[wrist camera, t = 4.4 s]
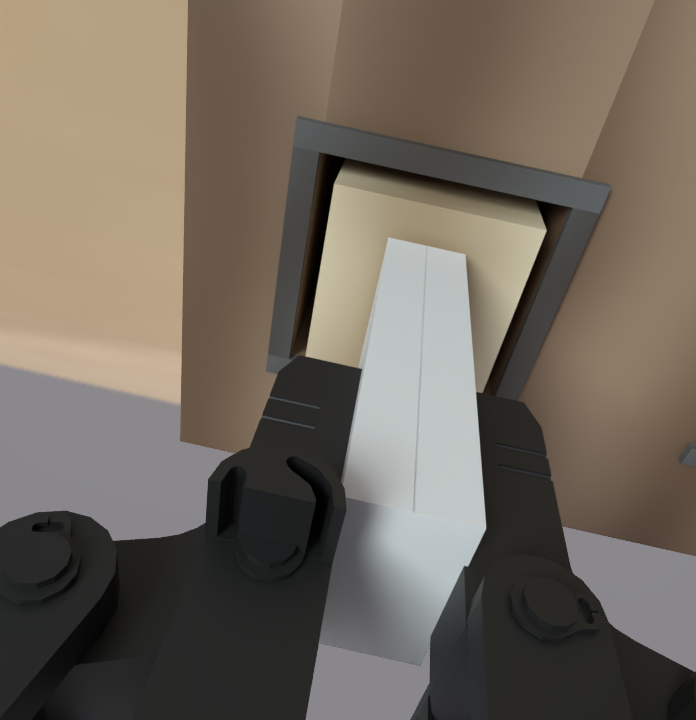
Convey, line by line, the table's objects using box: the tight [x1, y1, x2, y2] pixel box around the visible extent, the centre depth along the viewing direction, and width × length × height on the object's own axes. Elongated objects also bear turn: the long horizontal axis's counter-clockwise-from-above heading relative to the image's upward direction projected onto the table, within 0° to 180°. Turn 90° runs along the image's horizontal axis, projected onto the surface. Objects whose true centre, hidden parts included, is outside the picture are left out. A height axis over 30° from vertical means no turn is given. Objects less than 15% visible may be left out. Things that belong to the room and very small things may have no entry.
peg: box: [306, 158, 547, 393], centre depth 16 cm, size 4×4×8 cm
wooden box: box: [180, 0, 696, 556], centre depth 16 cm, size 20×12×9 cm, turn 80°
